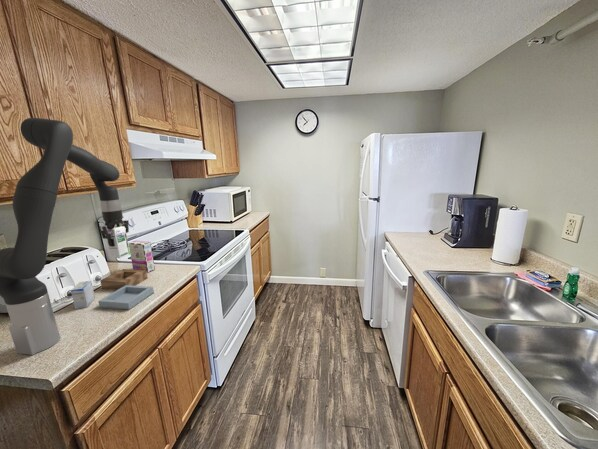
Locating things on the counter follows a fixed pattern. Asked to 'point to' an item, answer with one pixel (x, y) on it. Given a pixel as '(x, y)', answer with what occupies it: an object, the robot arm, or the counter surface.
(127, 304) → the tray
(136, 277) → the socket collar
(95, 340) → the counter surface
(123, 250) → the syrup box
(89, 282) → the medicine box
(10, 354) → the counter surface
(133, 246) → the candy bar box
